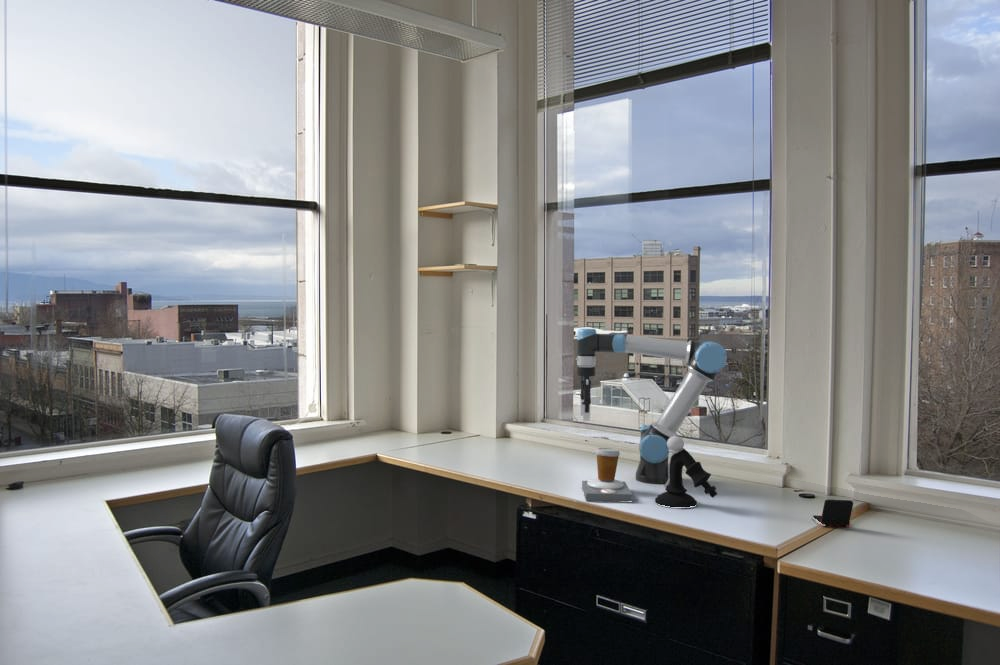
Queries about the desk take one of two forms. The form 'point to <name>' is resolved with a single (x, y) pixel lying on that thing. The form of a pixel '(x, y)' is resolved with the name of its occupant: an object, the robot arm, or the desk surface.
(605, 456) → the disposable coffee cup
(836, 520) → the handheld gaming console
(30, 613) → the desk surface
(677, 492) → the sculpture
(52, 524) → the desk surface
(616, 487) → the dial scale
